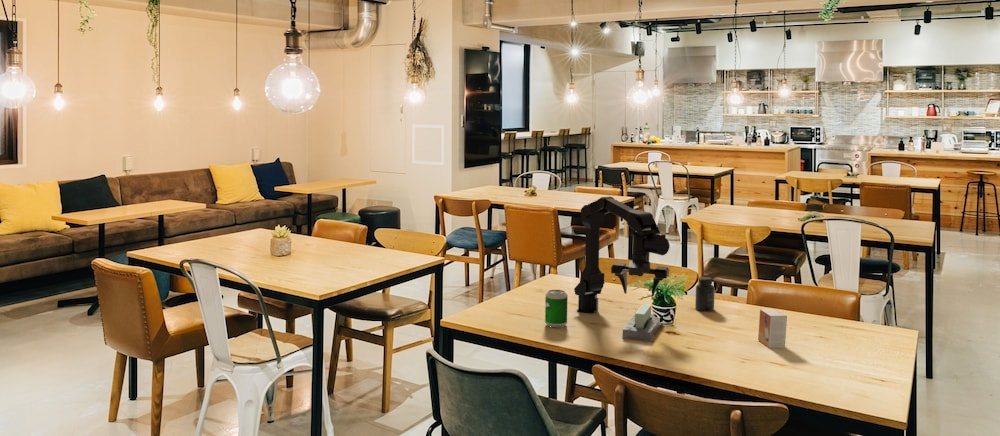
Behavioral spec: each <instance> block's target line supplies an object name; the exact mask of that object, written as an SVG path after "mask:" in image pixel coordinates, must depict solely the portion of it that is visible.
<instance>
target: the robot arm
mask: <svg viewBox="0 0 1000 436" xmlns="http://www.w3.org/2000/svg"><path fill="white" fill-rule="evenodd" d="M608 213H612V214H613V215H615V216H617V217H618V218H621V219H622V220H624V221H625V222H626V224H627V225H628V227H629V228H631V230H630V231H629V232H628V233H627V234H628V236H632V248H631V249H632V250H631V251H632V252H631V259H630V261H629V263H628V265H627V263H626V262H618V261H617V262H614V264H613V265H611V268H610V273H611V274H614V276H615V277H618V278H619V281H620V283H621V287H622V289H623V292H624V294H627V293H628V292H627V291H628V275H629V276H636V277H637V276H638V277H642V276H644V274H648V275H654V277H653V279H652V281H653V282H652V290H651V297H652V298H654V295H655V292H656V290H657V288H658V285H659V283H660V282H661V281H663V280H664V279H667V278H668V277H669V275H670V269H669V267H668V266H659V265H657V266H656V267H655V268H651V262H650V254H655V255H659V256H665V255H666V254H668V252H669V251H670V247H671V245H670V242H669V240H668V238H666V233H665V234H664V233H661V232H660V229H659V227H658V225H657V223H656V220H655V219H654V215H653V214H652V213H651V212H649V211H645V210H637V209H634V208H632V207H630V206H628V205H627V204H624V203H623V202H621V201H619V200H617V199H615V198H614V197H613V196H602V197H600V198H598V199H597V200H595V201H593V202H591V203H588V204H584V205H583V206H582V207H581V209H580V217H581V218H580V220H581V223H582V225H583V226H584V228H585V247H584V248H585V250H584V251H585V254H584V256H585V257H584V269H583V270H582V272H581V274H580V278H579V282H578V284H577V285H575V287H574V289H573V290H574V295H576V296H578V302H577V303H578V306H577V307H578V308H577V309H576V312H580V313H590V314H595V312H598V310H599V298H598V295H601V293H602V289H603V287H604V286H605V285H604V284H606V282H605V273H604V272H602V270H601V269H600V266H599V265H600V229H601V227H602V225H603V223H604V222H605V216H606V214H608Z"/></svg>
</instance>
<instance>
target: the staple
mask: <svg viewBox="0 0 1000 436" xmlns="http://www.w3.org/2000/svg"><path fill="white" fill-rule="evenodd" d="M651 314H652V305H651V304H644V303H643V304H641V306H640V307H639V308H638V309H637V311H636V312H635V313H634V315H635V324H636V327H637V328H644V324H645V322H646V321H647V320H650V316H651Z"/></svg>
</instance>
